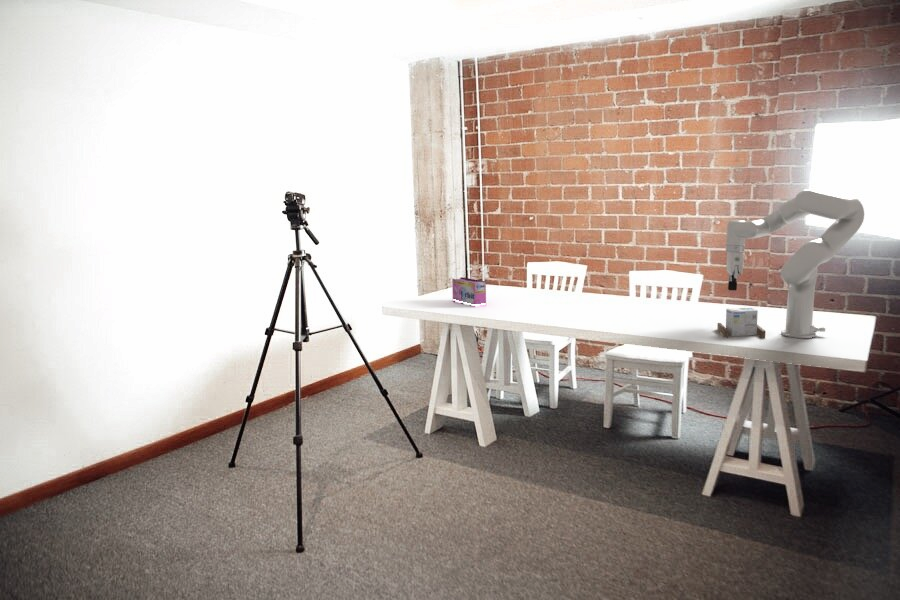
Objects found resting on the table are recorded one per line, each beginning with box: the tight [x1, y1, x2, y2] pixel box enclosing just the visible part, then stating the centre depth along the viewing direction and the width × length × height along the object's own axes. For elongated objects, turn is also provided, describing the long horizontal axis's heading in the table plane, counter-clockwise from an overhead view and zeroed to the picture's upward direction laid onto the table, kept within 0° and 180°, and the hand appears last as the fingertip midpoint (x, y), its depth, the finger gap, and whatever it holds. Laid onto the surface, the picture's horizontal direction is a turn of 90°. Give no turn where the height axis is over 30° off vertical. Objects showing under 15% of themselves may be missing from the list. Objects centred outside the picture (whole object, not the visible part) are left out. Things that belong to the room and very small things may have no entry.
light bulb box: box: [725, 307, 759, 337], centre depth 269 cm, size 11×7×11 cm, turn 92°
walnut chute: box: [716, 322, 766, 339], centre depth 270 cm, size 15×15×3 cm
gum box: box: [451, 276, 487, 304], centre depth 359 cm, size 24×8×14 cm, turn 33°
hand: (732, 289), depth 283 cm, fingers closed
